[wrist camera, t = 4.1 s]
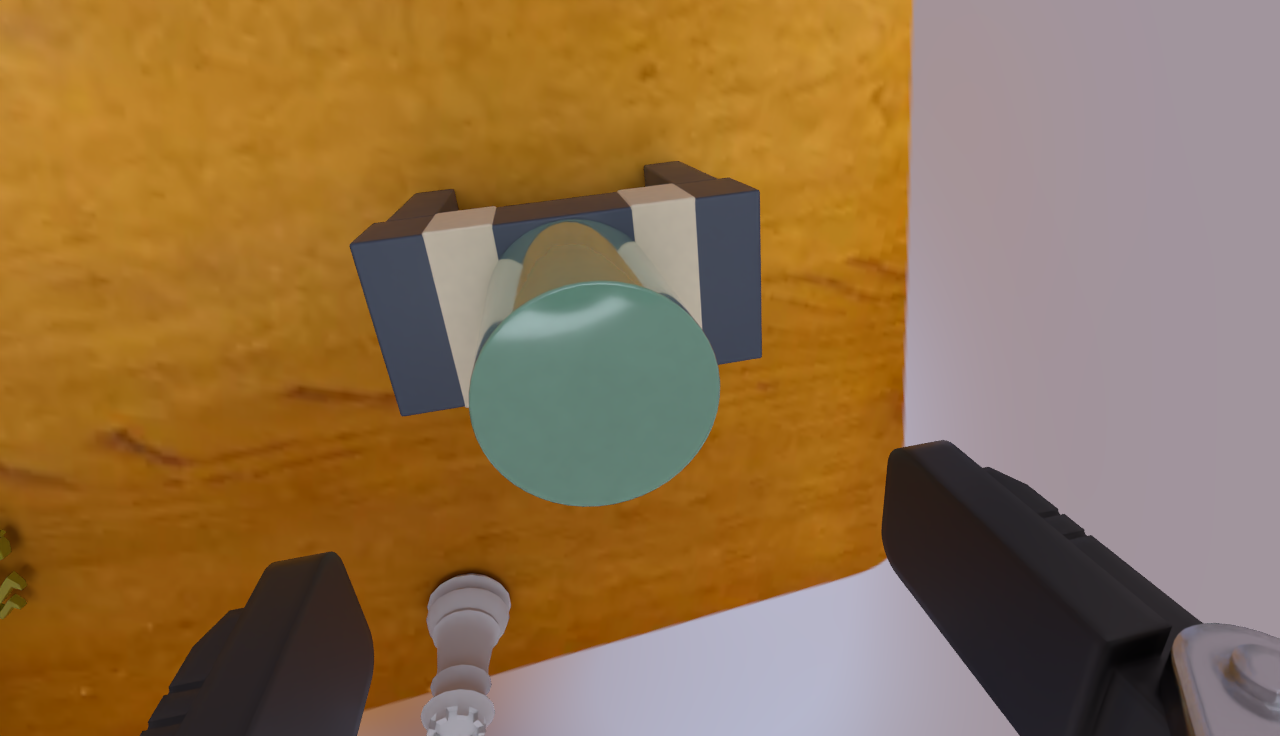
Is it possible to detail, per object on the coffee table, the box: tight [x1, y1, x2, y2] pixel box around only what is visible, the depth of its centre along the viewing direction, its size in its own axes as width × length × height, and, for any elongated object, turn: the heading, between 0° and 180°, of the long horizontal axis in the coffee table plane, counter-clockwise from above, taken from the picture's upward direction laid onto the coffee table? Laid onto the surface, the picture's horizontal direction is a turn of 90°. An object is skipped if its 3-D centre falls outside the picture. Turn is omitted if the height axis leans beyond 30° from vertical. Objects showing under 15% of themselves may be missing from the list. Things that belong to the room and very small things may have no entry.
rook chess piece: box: [421, 573, 511, 736], centre depth 31 cm, size 4×4×8 cm
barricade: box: [350, 161, 762, 416], centre depth 23 cm, size 12×6×9 cm, turn 96°
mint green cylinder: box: [469, 219, 720, 507], centre depth 16 cm, size 5×5×6 cm
